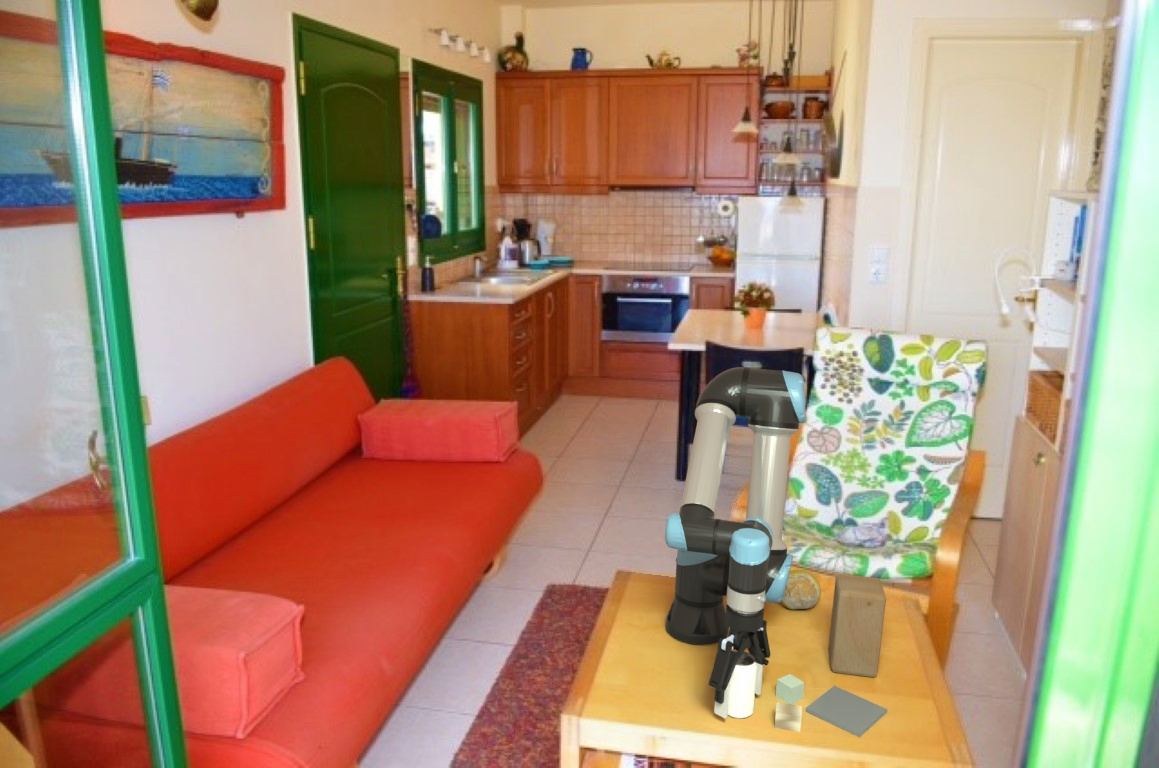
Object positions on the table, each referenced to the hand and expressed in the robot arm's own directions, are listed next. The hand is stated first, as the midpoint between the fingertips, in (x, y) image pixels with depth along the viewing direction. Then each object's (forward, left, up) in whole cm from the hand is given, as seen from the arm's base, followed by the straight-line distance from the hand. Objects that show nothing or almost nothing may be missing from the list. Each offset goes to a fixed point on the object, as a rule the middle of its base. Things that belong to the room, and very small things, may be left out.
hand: (737, 703), depth 181 cm
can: (0, 0, -2) cm, 2 cm away
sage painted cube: (+5, +12, -2) cm, 13 cm away
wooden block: (+8, +34, -2) cm, 35 cm away
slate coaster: (+16, +16, -2) cm, 23 cm away
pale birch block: (+10, +3, -2) cm, 11 cm away
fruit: (-15, +49, -2) cm, 51 cm away
